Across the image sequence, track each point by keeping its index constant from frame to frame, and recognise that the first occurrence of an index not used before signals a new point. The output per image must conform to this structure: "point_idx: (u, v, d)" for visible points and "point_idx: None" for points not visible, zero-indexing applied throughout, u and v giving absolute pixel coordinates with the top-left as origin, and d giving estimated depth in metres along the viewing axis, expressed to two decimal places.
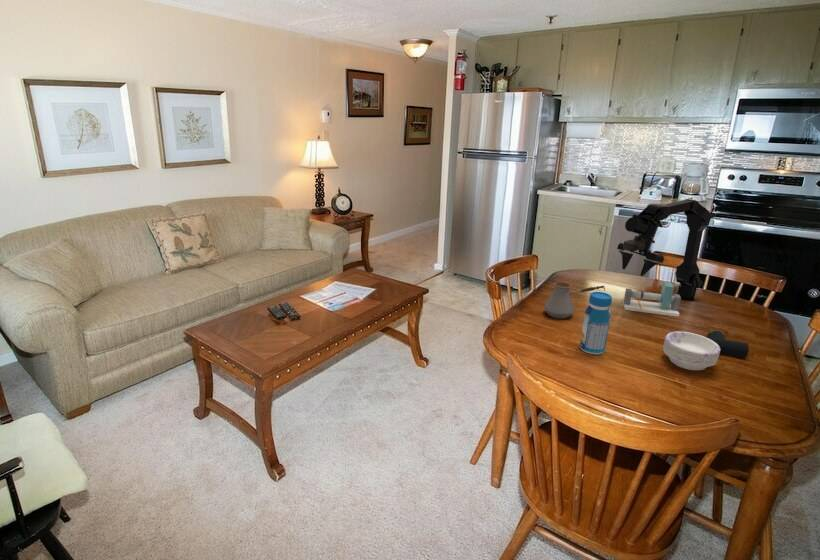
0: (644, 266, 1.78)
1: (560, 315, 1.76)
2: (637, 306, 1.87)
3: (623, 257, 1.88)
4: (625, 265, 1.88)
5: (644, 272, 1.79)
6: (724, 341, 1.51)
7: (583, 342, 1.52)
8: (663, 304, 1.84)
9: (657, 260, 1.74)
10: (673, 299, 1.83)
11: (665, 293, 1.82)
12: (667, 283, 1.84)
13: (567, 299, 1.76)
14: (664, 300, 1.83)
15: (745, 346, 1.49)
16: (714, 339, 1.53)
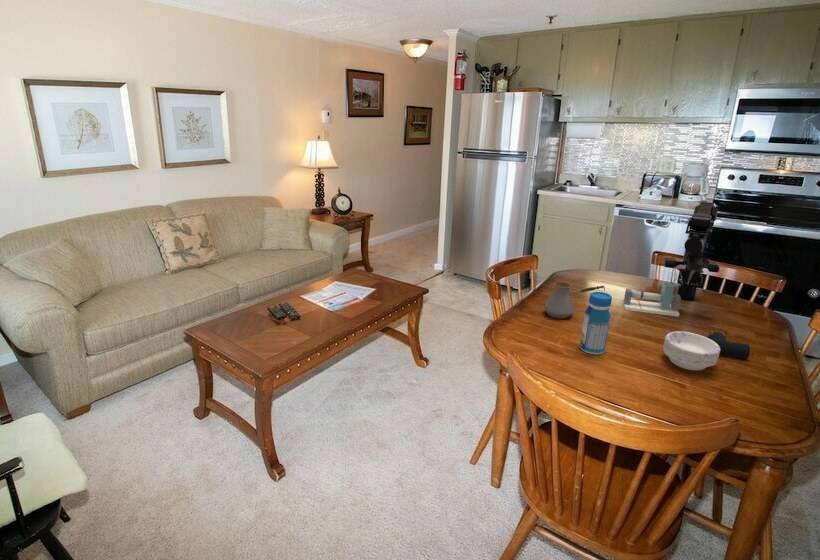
0: (693, 276, 1.78)
1: (560, 315, 1.76)
2: (637, 306, 1.87)
3: (683, 274, 1.79)
4: None
5: None
6: (725, 342, 1.50)
7: (583, 342, 1.52)
8: (663, 304, 1.84)
9: None
10: (673, 299, 1.83)
11: (665, 293, 1.82)
12: (667, 283, 1.84)
13: (567, 299, 1.76)
14: (664, 300, 1.83)
15: (746, 347, 1.48)
16: (715, 340, 1.52)
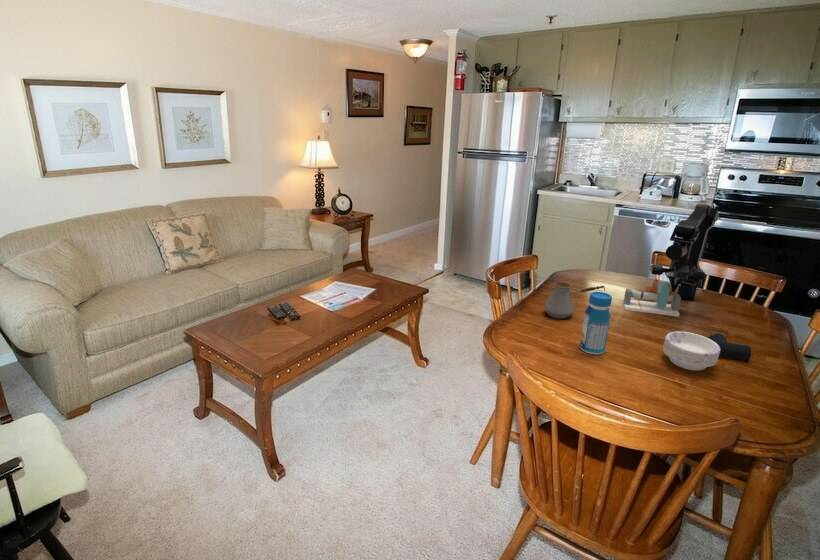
0: (678, 283, 1.81)
1: (560, 315, 1.76)
2: (637, 306, 1.87)
3: (672, 281, 1.81)
4: None
5: None
6: (726, 344, 1.49)
7: (583, 342, 1.52)
8: (659, 304, 1.84)
9: None
10: (673, 299, 1.83)
11: (661, 293, 1.83)
12: (663, 283, 1.85)
13: (567, 299, 1.76)
14: (660, 300, 1.84)
15: (747, 349, 1.47)
16: (716, 342, 1.51)
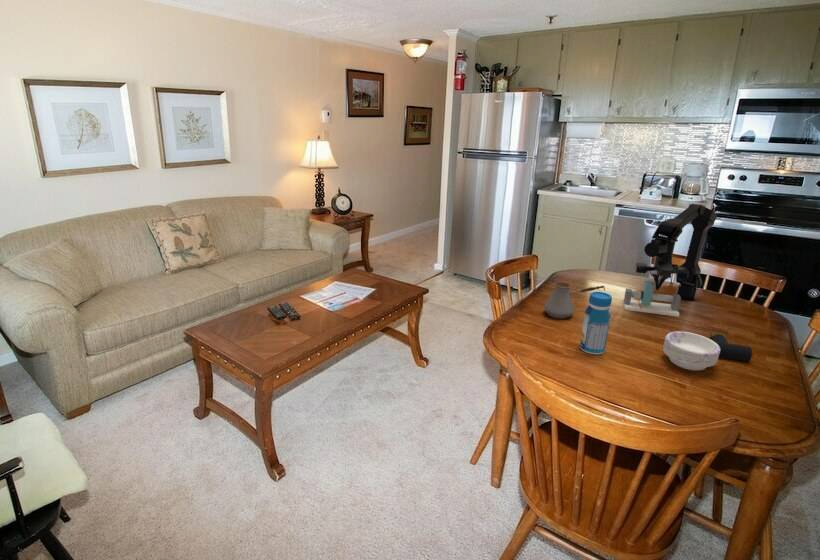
0: (662, 281, 1.83)
1: (560, 315, 1.76)
2: (637, 306, 1.87)
3: (656, 279, 1.83)
4: None
5: None
6: (727, 345, 1.49)
7: (583, 342, 1.52)
8: (644, 302, 1.86)
9: None
10: (673, 299, 1.83)
11: (646, 291, 1.84)
12: (648, 281, 1.87)
13: (567, 299, 1.76)
14: (645, 298, 1.85)
15: (748, 350, 1.46)
16: (717, 343, 1.50)
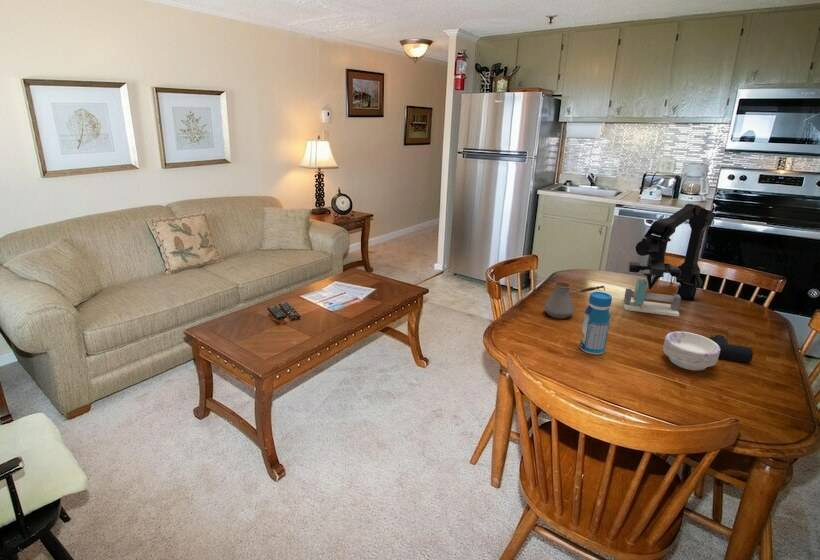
0: (654, 280, 1.84)
1: (560, 315, 1.76)
2: (637, 306, 1.87)
3: (649, 279, 1.84)
4: None
5: None
6: (727, 346, 1.48)
7: (583, 342, 1.52)
8: (637, 301, 1.87)
9: None
10: (673, 299, 1.83)
11: (638, 290, 1.85)
12: (641, 280, 1.87)
13: (567, 299, 1.76)
14: (638, 297, 1.86)
15: (749, 350, 1.46)
16: None
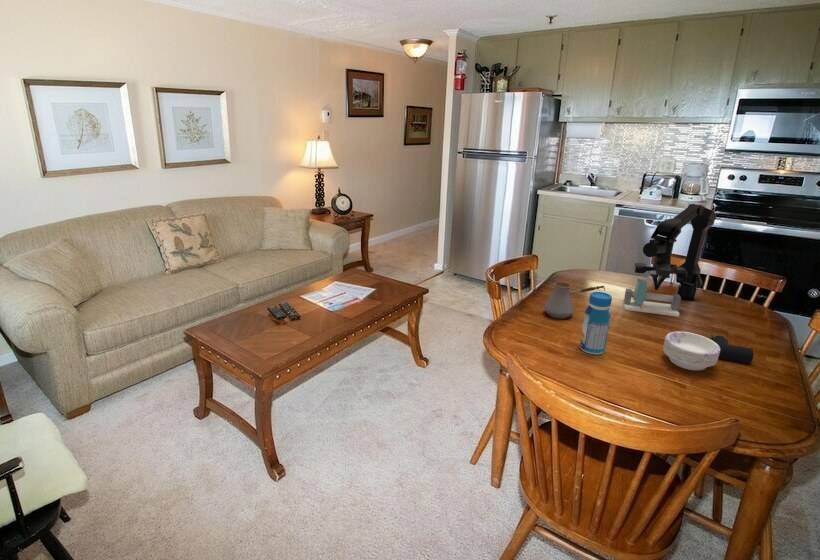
0: (660, 281, 1.83)
1: (560, 315, 1.76)
2: (637, 306, 1.87)
3: (655, 279, 1.83)
4: None
5: None
6: (728, 346, 1.48)
7: (583, 342, 1.52)
8: (637, 301, 1.87)
9: None
10: (673, 299, 1.83)
11: (638, 290, 1.85)
12: (641, 280, 1.87)
13: (567, 299, 1.76)
14: (638, 297, 1.86)
15: (750, 351, 1.45)
16: (718, 344, 1.49)
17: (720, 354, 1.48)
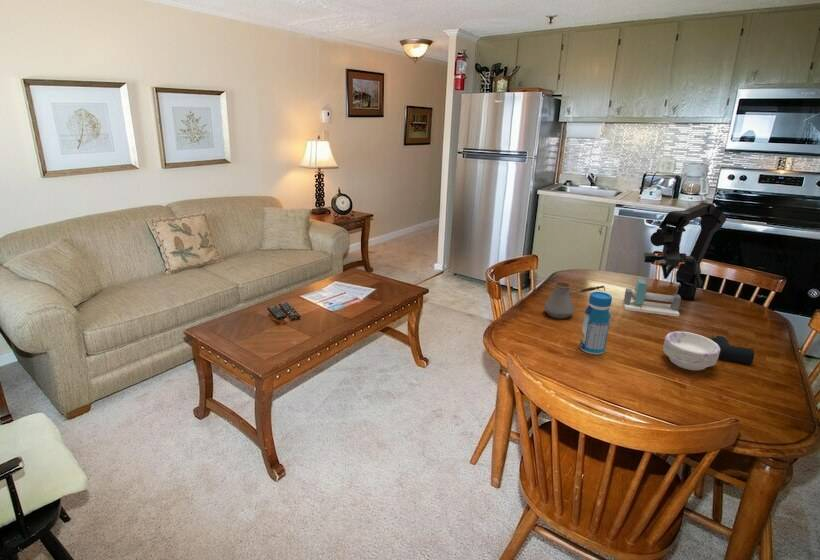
0: (670, 270, 1.87)
1: (560, 315, 1.76)
2: (637, 306, 1.87)
3: (664, 268, 1.88)
4: None
5: None
6: (729, 347, 1.48)
7: (583, 342, 1.52)
8: (637, 301, 1.87)
9: None
10: (673, 299, 1.83)
11: (638, 290, 1.85)
12: (641, 280, 1.87)
13: (567, 299, 1.76)
14: (638, 297, 1.86)
15: (750, 352, 1.45)
16: None
17: (721, 355, 1.48)
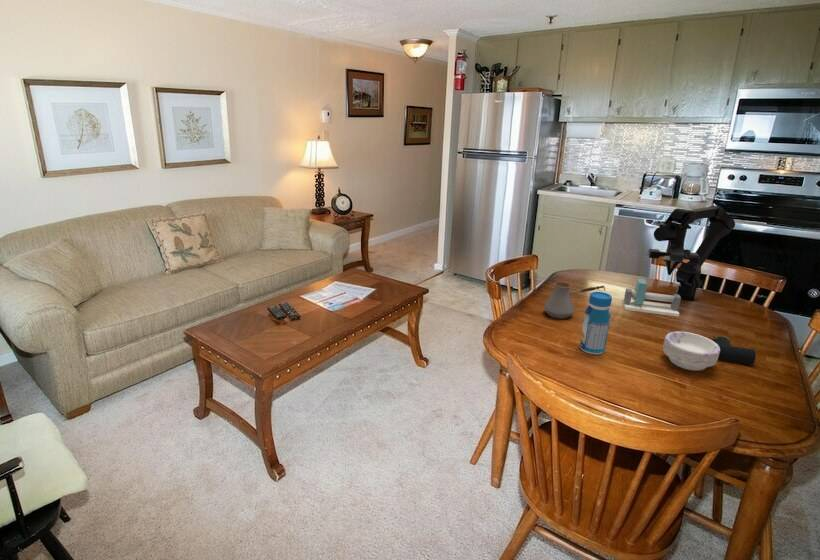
0: (674, 266, 1.91)
1: (560, 315, 1.76)
2: (637, 306, 1.87)
3: (668, 265, 1.91)
4: None
5: None
6: (730, 347, 1.47)
7: (583, 342, 1.52)
8: (637, 301, 1.87)
9: None
10: (673, 299, 1.83)
11: (638, 290, 1.85)
12: (641, 280, 1.87)
13: (567, 299, 1.76)
14: (638, 297, 1.86)
15: (752, 352, 1.45)
16: (720, 346, 1.48)
17: (722, 355, 1.47)
